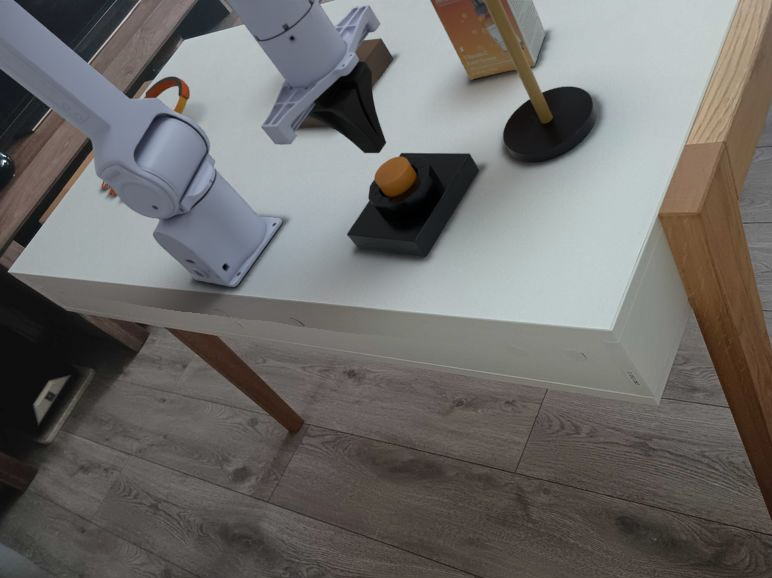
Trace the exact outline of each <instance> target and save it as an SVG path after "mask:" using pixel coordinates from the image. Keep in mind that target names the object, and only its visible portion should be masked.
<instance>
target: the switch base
mask: <svg viewBox="0 0 772 578" xmlns="http://www.w3.org/2000/svg"><path fill="white" fill-rule="evenodd" d="M398 157H405V158H406V159H407V160H408V162H409V163H410V165H411V166H412V168H413V169H414V171H415V172H416V174H417V178H416V180H415V182H414V183H413V185H412V186H411V187H410V188H408V189H407V190H406V191H405V192H403V193H402V194H400V195H397V196H394V197H387V196H386V195H385V194H384V193H383V192H382V190H381V189H380V187H379V186H378V185H377V183H376V182H375V179H373V180H372V182H371V184H369V189H368V202H367V203H366V204H365V206H364V208H363V209H362V211H361V212H360V213H359V215H358V216H357V218H356V220H355V222H354V223H353V224H352V226H351V227H350V229H349V230H348V232H347V233H346V235H347V237H348V238H349V239H350V240H351V242H352V243H353V244H354V245H355V246H356V247H357V249H359V250H367V251H374V252H384V253H391V254H400V255H409V256H417V257H427V256H428V255H429V253H430V252H431V249H432V248H433V246H434V245H435V243H436V241H437V240H438V238H439V237H440V236H441V234H442V232H443V230H444V228H445V226H446V225H447V223H448V222H449V220H450V218H451V217H452V215H453V213H454V212H455V210H456V208H457V207H458V206H459V204H460V202H461V200H462V199H463V197H464V196H465V194H466V192H467V191H468V189H469V187H470V185H472V182H473V181H474V180H475V177H476V176H477V174H478V173H479V171H480V168H479V166H478V165H477V163H476V162H475V160H474V157H473V156H472V155H471V153H469V152H468V153H466V152H465V153H461V152H459V153H458V152H456V153H455V152H454V153H453V152H441V153H440V152H401V153H400V154H399V156H398Z"/></svg>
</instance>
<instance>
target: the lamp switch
mask: <svg viewBox="0 0 772 578" xmlns="http://www.w3.org/2000/svg"><path fill="white" fill-rule="evenodd" d="M416 178H417V174H416V172H415V171H414V169H413V168H412V166H411V165H410V163H409V162H408V160H407V159H406V158H405V157H399V156H394V157H392V158H389V159H388V160H386V161H385V162H383V163H382V164H381V165H380V166H379V167H378V169H377V170H376V172H375V173H374V179H375V182H376V183H377V185H378V186H379V187H380V189H381V190H382V192H383V193H384V194H385V195H386V196H387V197H394V196H397V195H400V194H402V193H403V192H405V191H406V190H407V189H408V188H410V187H411V186H412V185H413V183H414V182H415V180H416ZM374 179H373V180H374Z"/></svg>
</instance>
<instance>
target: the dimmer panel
mask: <svg viewBox="0 0 772 578" xmlns="http://www.w3.org/2000/svg"><path fill="white" fill-rule="evenodd" d="M355 53H356V55H357V57H358V58H359V61H358V62H366V64H367V65H368V67H369V68H370V70H371V71H372V88H373V87H374V86H375V84H376V83H377V81H378V80H380V78H381V76H382V75H383V73H384V72H385V71H386V69H387V68H388V66H389V65H390V64H391V63H392V61H393V59H394V57H393V55H392V53H391V52H390V50H389V49H388V47H387V45H386V44H385V42H384V41H383V38H381V37H380V38H371V39H364V40H363V42H362V43H361V44H360V46H359V47H358V48H357V50H356V51H355ZM312 127H313V128H314V127H316V128H317V127H329V126H328V125H327V124H325V123H323V122H321V121H319V120H317V119H315V118H313V117H310V116H308V115H307V116H306V118H305V119H304V120H303V122H302V123H301V124H300V126H299V127H298V128H312Z"/></svg>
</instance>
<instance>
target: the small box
mask: <svg viewBox="0 0 772 578" xmlns="http://www.w3.org/2000/svg"><path fill="white" fill-rule="evenodd" d="M429 1H430V3H431V5H432V7H433V8H434V11H435V13H436V15H437V17H438V19H439V21H440V23H441V25H442V27H443V29H444V31H445V32H446V35H447V37H448V39H449V41H450V43H451V45H452V47H453V49H454V51H455V52H456V55H457V57H458V59H459V61H460V62H461V65H462V66H463V69H464V70H465V72H466V74H467V76H468V79H469V80H471V81H472V80H476V79H479V78H484V77H488V76H491V75H492V76H493V75H496V74H502V73H506V72H510V71H517V70H516V68H515V66H514V64H513V62H512V60H511V57H510V55H509V53H508V51H507V49H506V47H505V45H504V43H503V40H502V38H501V36H500V34H499V32H498V30H497V28H496V26H495V23H494V21H493V19H492V17H491V15H490V13H489V11H488V8H487V6H486V4H485V2H484V0H429ZM500 1H501V3H502V6H503V8H504V10H505V12H506V14H507V17H508V19H509V21H510V23H511V25H512V28H513V30H514V32H515V34H516V37H517V39H518V41H519V43H520V45H521V48H522V50H523V52H524V54H525V56H526V59H527V61H528V63H529V65H530V67H531V68H532V67H535V65H536V63H537V60H538V58H539V57H538V56H539V53H540V50H541V49H542V45H543V42H544V39H545V36H546V30H545V28H544V25H543V23H542V21H541V18H540V15H539V13H538V10H537V8H536V5H535V3H534V1H533V0H500Z"/></svg>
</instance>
